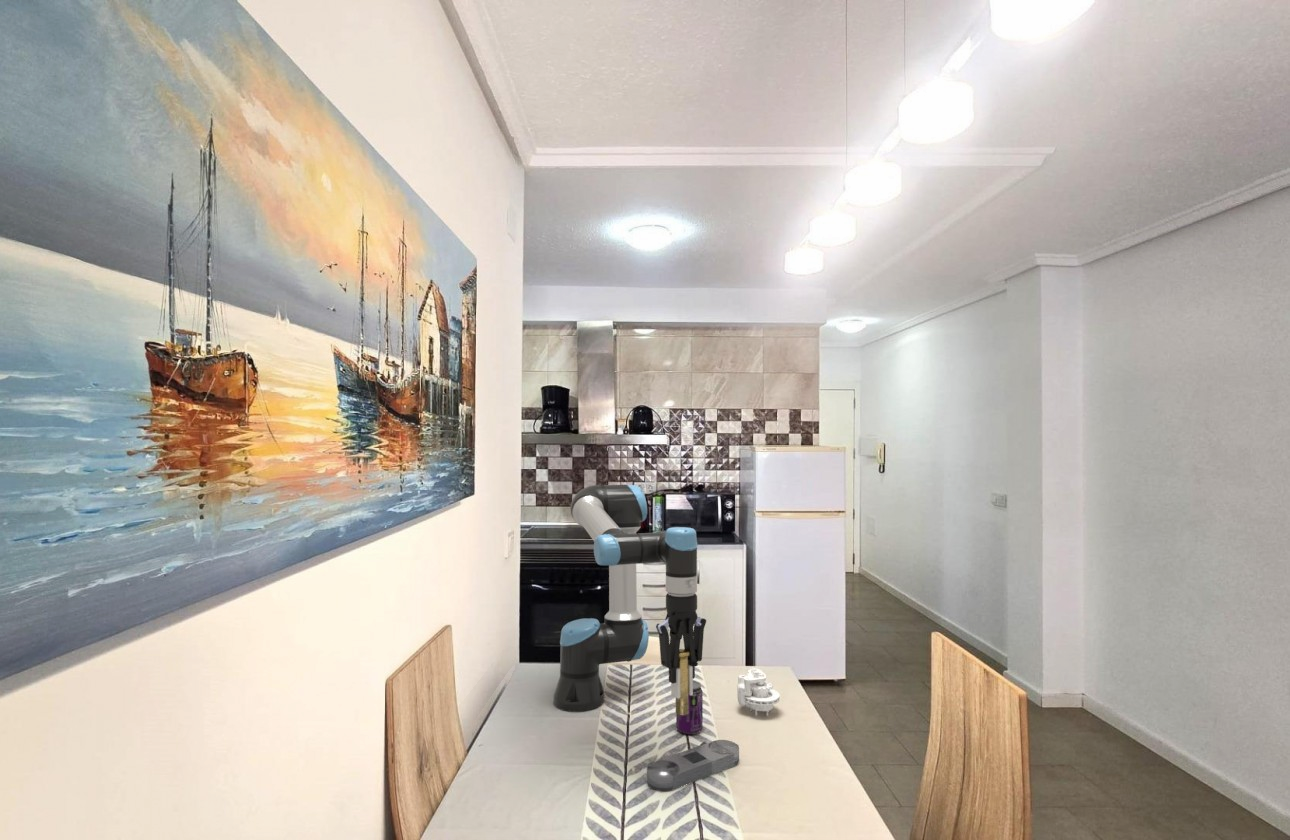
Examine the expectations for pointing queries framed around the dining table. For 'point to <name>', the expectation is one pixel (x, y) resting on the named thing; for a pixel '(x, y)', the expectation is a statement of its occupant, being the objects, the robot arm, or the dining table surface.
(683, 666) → the pin
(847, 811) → the dining table surface
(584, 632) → the robot arm
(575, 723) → the dining table surface
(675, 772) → the slotted metal plate
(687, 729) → the beverage can
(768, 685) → the mechanical part
